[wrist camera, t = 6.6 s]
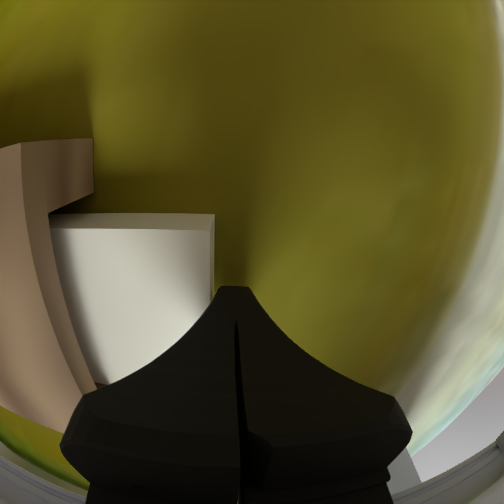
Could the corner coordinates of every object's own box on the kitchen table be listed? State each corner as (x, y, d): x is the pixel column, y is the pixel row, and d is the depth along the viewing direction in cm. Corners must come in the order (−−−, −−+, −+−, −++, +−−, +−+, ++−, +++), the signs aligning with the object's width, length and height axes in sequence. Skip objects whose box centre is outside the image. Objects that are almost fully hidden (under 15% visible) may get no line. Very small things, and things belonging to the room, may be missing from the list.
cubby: (93, 138, 8) (20, 142, 4) (132, 387, 12) (114, 448, 9) (-35, 167, 7) (-88, 185, 4) (15, 358, 12) (-13, 398, 8)
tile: (214, 213, 9) (210, 230, 8) (215, 364, 12) (214, 397, 10) (-15, 217, 9) (-41, 230, 7) (18, 334, 11) (1, 354, 9)
